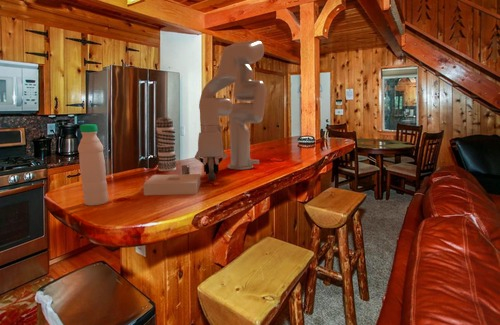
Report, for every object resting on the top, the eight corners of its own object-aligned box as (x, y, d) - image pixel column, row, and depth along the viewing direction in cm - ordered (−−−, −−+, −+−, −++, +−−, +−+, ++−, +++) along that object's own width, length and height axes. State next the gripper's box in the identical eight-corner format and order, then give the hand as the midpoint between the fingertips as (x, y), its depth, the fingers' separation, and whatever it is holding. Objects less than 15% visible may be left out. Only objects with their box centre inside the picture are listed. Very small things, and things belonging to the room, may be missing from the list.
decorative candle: (180, 167, 151) (177, 117, 146) (171, 171, 142) (168, 118, 137) (163, 167, 153) (160, 117, 148) (154, 170, 144) (150, 118, 139)
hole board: (200, 183, 119) (199, 174, 118) (196, 194, 105) (196, 182, 105) (154, 185, 118) (153, 175, 117) (144, 195, 104) (143, 184, 103)
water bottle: (83, 207, 92) (73, 125, 87) (85, 201, 98) (76, 124, 94) (108, 204, 95) (100, 124, 90) (108, 198, 101) (101, 123, 96)
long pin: (215, 178, 127) (214, 152, 125) (215, 180, 124) (214, 154, 122) (208, 178, 127) (207, 153, 125) (207, 180, 124) (206, 154, 122)
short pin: (190, 177, 130) (189, 165, 129) (189, 179, 127) (188, 166, 126) (182, 177, 130) (182, 165, 129) (181, 179, 127) (181, 166, 126)
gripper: (230, 128, 126) (231, 171, 129) (190, 128, 125) (192, 172, 128) (230, 129, 118) (231, 175, 122) (188, 130, 117) (190, 176, 121)
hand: (211, 173), depth 125 cm, fingers closed on long pin, 3 cm apart
